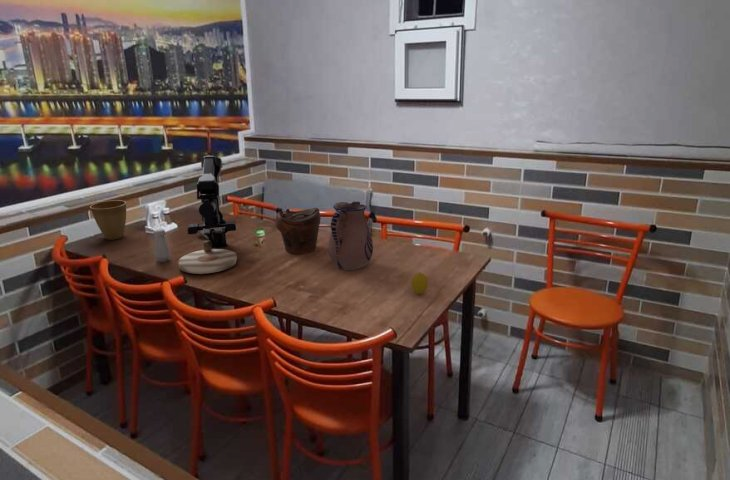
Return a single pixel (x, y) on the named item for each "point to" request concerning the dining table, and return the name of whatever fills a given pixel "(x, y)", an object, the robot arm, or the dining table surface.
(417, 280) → the lemon
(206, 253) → the lazy susan
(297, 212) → the brown tapered round container
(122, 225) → the plant pot
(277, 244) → the dining table surface
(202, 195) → the robot arm
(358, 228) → the ceramic pitcher
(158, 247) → the salt shaker
